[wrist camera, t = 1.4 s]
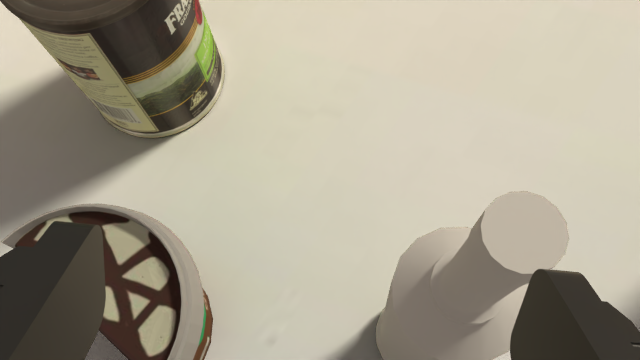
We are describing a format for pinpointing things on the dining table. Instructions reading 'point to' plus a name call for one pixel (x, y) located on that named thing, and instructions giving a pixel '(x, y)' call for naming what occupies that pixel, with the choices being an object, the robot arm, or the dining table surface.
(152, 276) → the food container
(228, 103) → the dining table surface
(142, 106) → the coffee can
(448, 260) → the bottle
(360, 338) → the dining table surface
